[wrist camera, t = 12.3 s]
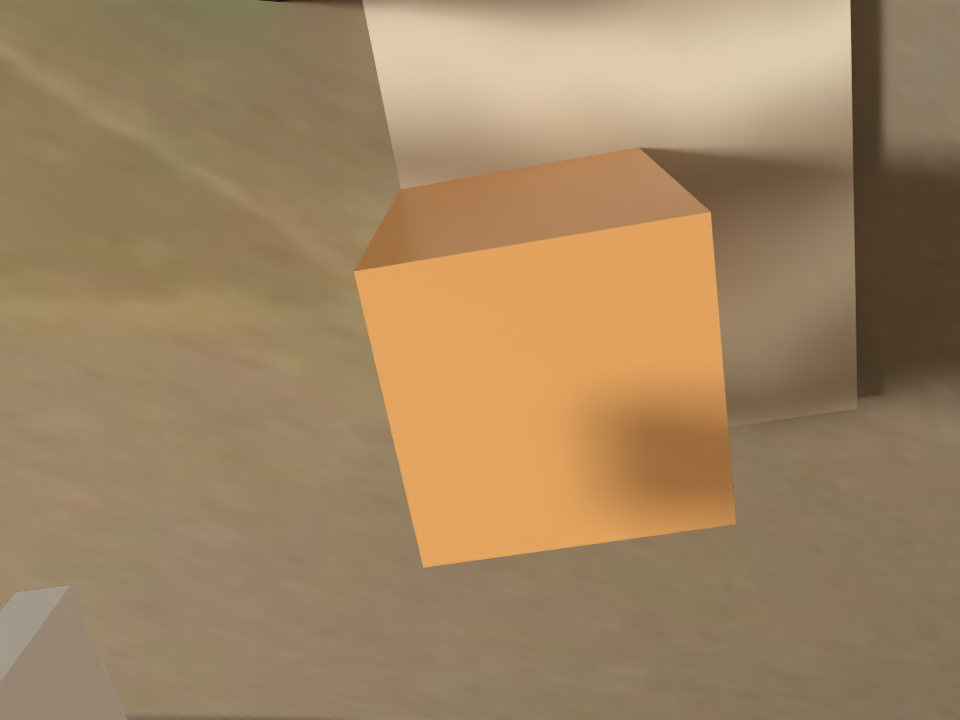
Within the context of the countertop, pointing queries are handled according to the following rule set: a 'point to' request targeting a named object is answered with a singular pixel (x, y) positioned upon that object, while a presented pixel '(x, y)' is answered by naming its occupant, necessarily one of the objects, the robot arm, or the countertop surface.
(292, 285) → the countertop surface
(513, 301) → the plain orange cube
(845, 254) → the stub board
